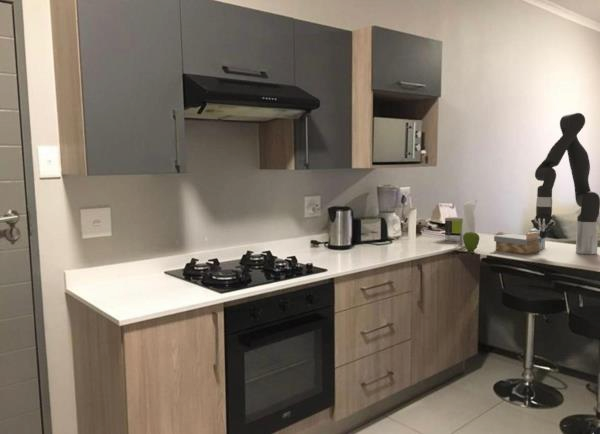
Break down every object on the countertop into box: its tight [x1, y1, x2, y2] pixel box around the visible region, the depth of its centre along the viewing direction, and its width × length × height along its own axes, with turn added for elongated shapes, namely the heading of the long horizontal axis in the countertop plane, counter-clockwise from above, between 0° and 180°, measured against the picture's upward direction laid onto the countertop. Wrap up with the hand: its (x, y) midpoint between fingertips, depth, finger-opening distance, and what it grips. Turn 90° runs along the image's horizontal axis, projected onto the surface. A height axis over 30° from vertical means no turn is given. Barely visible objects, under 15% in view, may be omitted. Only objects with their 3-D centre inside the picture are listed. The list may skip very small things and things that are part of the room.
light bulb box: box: [528, 228, 546, 251], centre depth 291 cm, size 11×7×11 cm, turn 143°
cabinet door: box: [493, 232, 542, 245], centre depth 280 cm, size 19×15×6 cm
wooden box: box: [495, 240, 540, 256], centre depth 281 cm, size 18×13×7 cm
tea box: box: [444, 216, 463, 242], centre depth 323 cm, size 15×10×15 cm, turn 58°
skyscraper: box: [459, 199, 478, 248], centre depth 299 cm, size 8×8×28 cm
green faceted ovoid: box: [463, 232, 480, 253], centre depth 282 cm, size 9×8×12 cm
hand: (542, 238), depth 269 cm, fingers closed
